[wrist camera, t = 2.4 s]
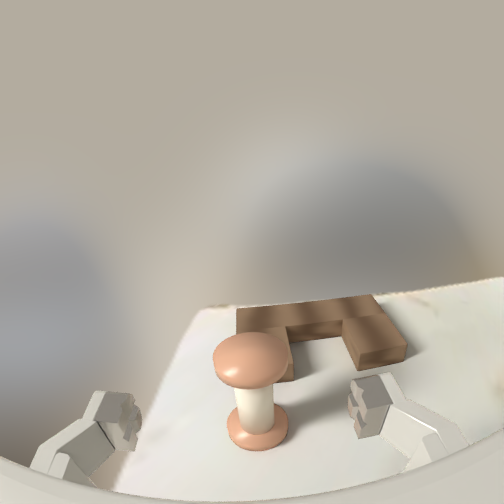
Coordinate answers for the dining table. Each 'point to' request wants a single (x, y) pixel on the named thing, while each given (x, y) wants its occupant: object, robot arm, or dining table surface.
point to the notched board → (330, 328)
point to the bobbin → (253, 388)
